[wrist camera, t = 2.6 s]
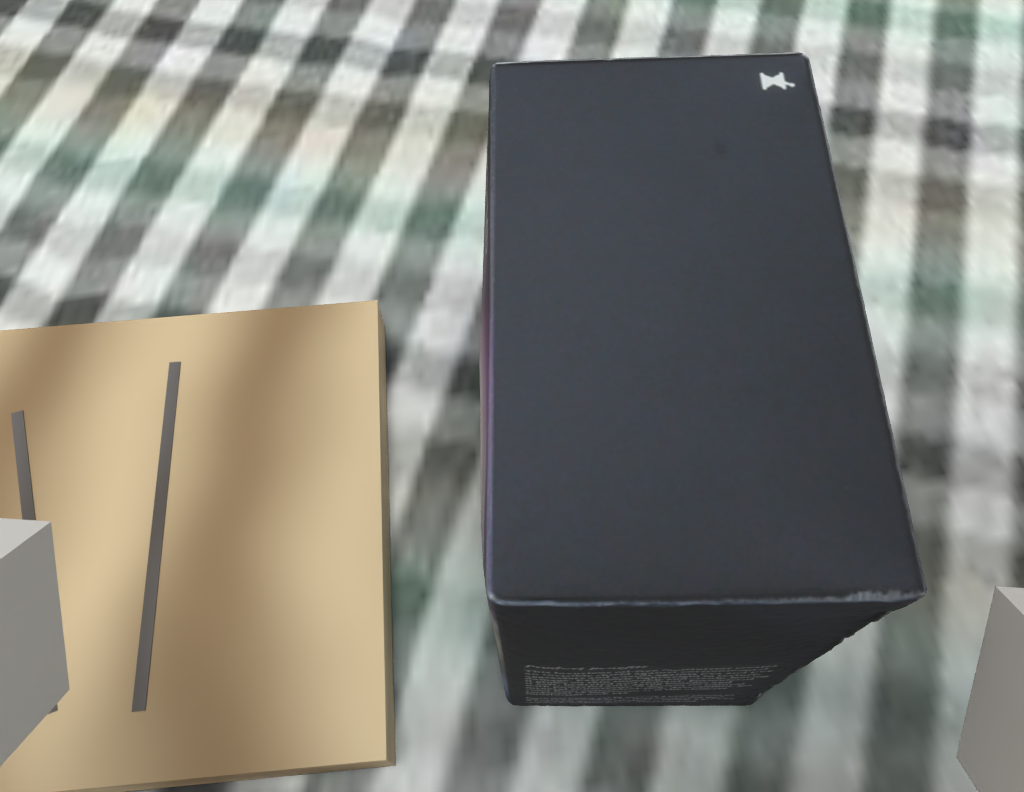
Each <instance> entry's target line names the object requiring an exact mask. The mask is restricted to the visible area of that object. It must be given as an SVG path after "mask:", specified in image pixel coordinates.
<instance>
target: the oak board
mask: <svg viewBox="0 0 1024 792" xmlns="http://www.w3.org/2000/svg"><path fill="white" fill-rule="evenodd" d="M0 518H7V519H22V520H36V521H51V526H52V535H53V544H54V553H55V562H56V571H57V580H58V589H59V598H60V607H61V616H62V625H63V634H64V643H65V652H66V661H67V670H68V679H69V688H70V690H69V691H68V692H67V693H66V694H65V695H64V696H63V697H62V699H61V700H60V701H59V702H58V703H57V704H56V705H55V706H54V708H53V709H52V710H51V711H50V712H49V713H48V714H47V715H46V716H45V718H44V719H43V720H42V721H41V722H40V723H39V724H38V725H37V726H36V728H35V729H34V730H33V731H32V732H31V733H30V734H29V735H28V736H27V738H26V739H25V740H24V741H23V742H22V743H21V744H20V745H19V746H18V748H17V749H16V750H15V751H14V752H13V753H12V754H11V755H10V756H9V758H8V759H7V760H6V761H5V762H4V763H3V764H2V765H1V766H0V792H125V791H135V790H146V789H156V788H167V787H177V786H187V785H198V784H208V783H219V782H229V781H240V780H250V779H260V778H271V777H281V776H292V775H302V774H312V773H323V772H333V771H344V770H354V769H364V768H375V767H385V766H396V765H395V723H394V681H393V640H392V598H391V556H390V515H389V473H388V431H387V390H386V348H385V327H384V323H383V319H382V315H381V312H380V308H379V304H378V301H377V300H375V301H362V302H350V303H338V304H325V305H313V306H300V307H288V308H275V309H263V310H251V311H238V312H226V313H213V314H201V315H188V316H176V317H164V318H151V319H139V320H126V321H114V322H101V323H89V324H76V325H64V326H52V327H39V328H27V329H14V330H2V331H0Z"/></svg>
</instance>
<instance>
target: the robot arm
mask: <svg viewBox="0 0 1024 792" xmlns="http://www.w3.org/2000/svg"><path fill="white" fill-rule="evenodd" d="M69 690H70V688H69V679H68V670H67V661H66V652H65V643H64V634H63V625H62V616H61V607H60V598H59V589H58V580H57V571H56V562H55V553H54V544H53V535H52V526H51V521H36V520H22V519H7V518H0V766H1V765H2V764H3V763H4V762H5V761H6V760H7V759H8V758H9V756H10V755H11V754H12V753H13V752H14V751H15V750H16V749H17V748H18V746H19V745H20V744H21V743H22V742H23V741H24V740H25V739H26V738H27V736H28V735H29V734H30V733H31V732H32V731H33V730H34V729H35V728H36V726H37V725H38V724H39V723H40V722H41V721H42V720H43V719H44V718H45V716H46V715H47V714H48V713H49V712H50V711H51V710H52V709H53V708H54V706H55V705H56V704H57V703H58V702H59V701H60V700H61V699H62V697H63V696H64V695H65V694H66V693H67V692H68V691H69ZM956 757H957V759H958V760H959V762H960V763H961V765H962V767H963V768H964V770H965V771H966V773H967V774H968V776H969V777H970V779H971V780H972V782H973V784H974V785H975V787H976V788H977V790H978V791H979V792H1024V588H1014V587H999V586H995V591H994V595H993V599H992V604H991V608H990V612H989V617H988V621H987V625H986V630H985V634H984V639H983V643H982V647H981V652H980V656H979V660H978V665H977V669H976V673H975V678H974V682H973V687H972V691H971V695H970V700H969V704H968V708H967V713H966V717H965V721H964V726H963V730H962V734H961V739H960V743H959V748H958V752H957V756H956Z"/></svg>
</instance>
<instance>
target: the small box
mask: <svg viewBox="0 0 1024 792" xmlns="http://www.w3.org/2000/svg"><path fill="white" fill-rule="evenodd" d="M480 423H481V529H482V549H483V568H484V576H485V585H486V593H487V598H488V604H489V610H490V616H491V620H492V625H493V629H494V634H495V639H496V645H497V651H498V656H499V663H500V667H501V673H502V678H503V684H504V689H505V693H506V697H507V699H508V701H509V702H510V703H511V704H513V705H523V706H529V705H539V706H546V705H549V706H583V705H586V706H665V705H690V706H700V705H740V706H741V705H750V704H753V703H754V702H755V701H756V700H757V699H758V698H760V697H761V696H762V695H763V693H765V692H766V691H768V690H769V689H770V688H773V687H774V685H776V684H778V683H780V682H782V681H783V680H785V679H786V678H787V677H788V676H789V675H790V674H793V673H795V672H796V671H798V670H799V669H801V668H803V667H804V666H806V665H808V664H809V663H810V662H812V661H813V660H815V659H816V658H818V657H820V656H821V655H823V654H825V653H826V652H828V651H830V650H832V648H833V647H834V646H836V645H838V644H840V643H841V642H842V641H843V640H844V638H845V637H847V638H848V637H850V636H852V635H854V634H855V632H857V631H859V630H860V629H862V628H863V627H865V626H866V625H868V624H869V623H871V622H875V621H878V620H879V619H881V618H882V617H884V616H885V615H887V614H889V613H890V612H891V611H894V610H897V609H900V608H903V607H905V606H907V605H909V604H912V603H913V602H915V601H917V600H919V599H920V598H922V597H923V596H924V595H925V593H926V590H927V588H926V584H925V579H924V575H923V571H922V567H921V563H920V558H919V553H918V548H917V543H916V538H915V534H914V530H913V525H912V520H911V515H910V510H909V505H908V501H907V496H906V492H905V488H904V483H903V479H902V474H901V470H900V466H899V461H898V456H897V452H896V447H895V442H894V438H893V433H892V429H891V424H890V420H889V416H888V412H887V407H886V401H885V396H884V392H883V388H882V384H881V379H880V375H879V370H878V365H877V361H876V356H875V352H874V347H873V343H872V338H871V333H870V328H869V324H868V320H867V316H866V311H865V305H864V301H863V297H862V293H861V289H860V285H859V280H858V275H857V270H856V266H855V261H854V257H853V253H852V248H851V243H850V239H849V235H848V231H847V227H846V223H845V218H844V213H843V208H842V203H841V198H840V194H839V189H838V185H837V181H836V177H835V173H834V168H833V163H832V158H831V153H830V148H829V144H828V140H827V136H826V132H825V127H824V122H823V118H822V114H821V108H820V106H819V103H818V96H817V93H816V88H815V83H814V79H813V74H812V70H811V65H810V61H809V58H808V57H807V56H806V55H804V54H802V53H799V52H785V53H770V54H736V55H710V56H678V57H639V58H614V59H571V60H546V61H524V62H498V63H496V64H494V65H493V66H492V68H491V72H490V81H489V113H488V133H487V168H486V196H485V227H484V258H483V288H482V316H481V339H480Z"/></svg>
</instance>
